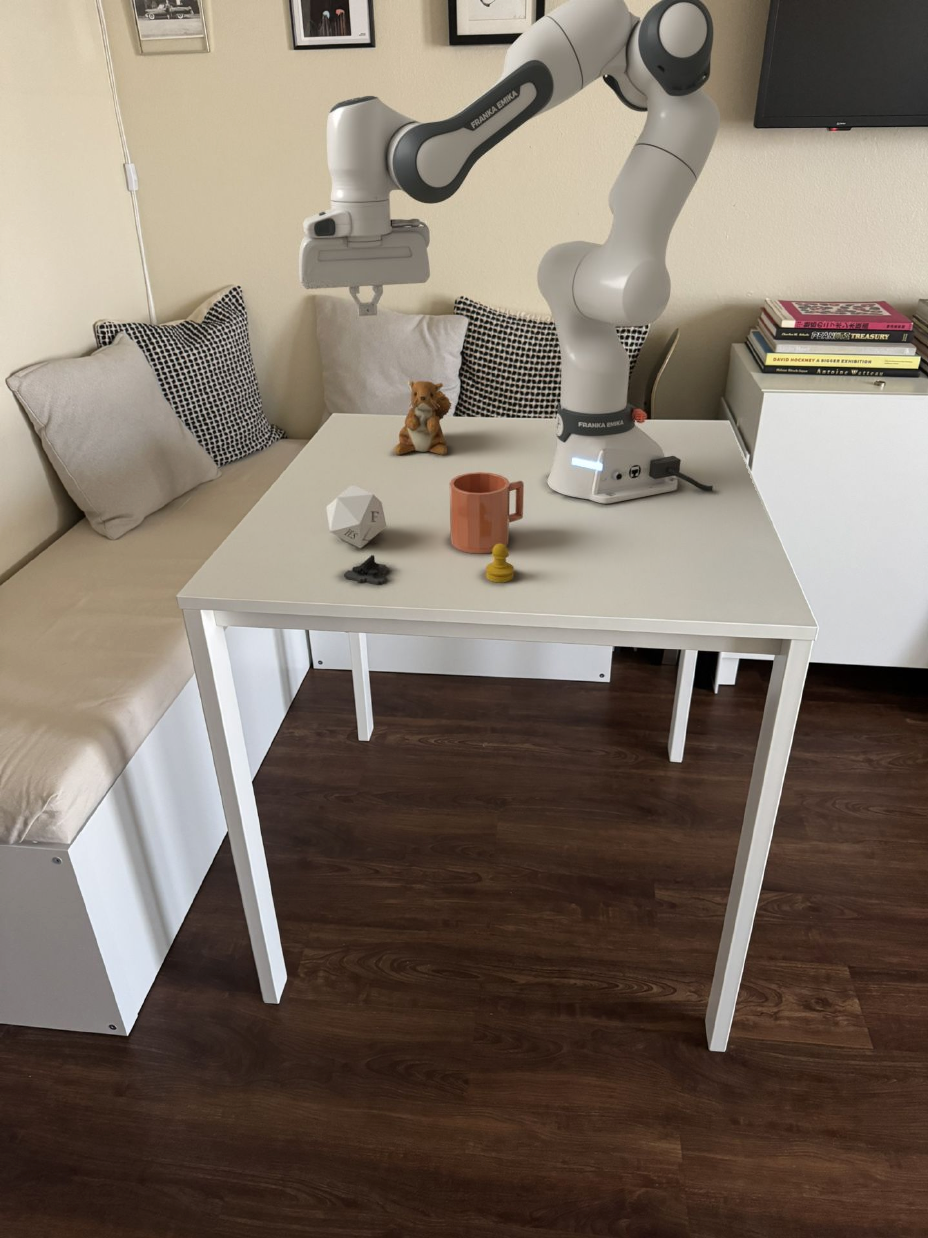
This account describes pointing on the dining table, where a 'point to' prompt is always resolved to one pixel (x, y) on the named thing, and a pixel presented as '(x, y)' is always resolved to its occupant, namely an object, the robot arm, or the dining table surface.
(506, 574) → the chess piece
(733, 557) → the dining table surface
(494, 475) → the mug
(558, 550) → the dining table surface
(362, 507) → the die
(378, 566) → the block figure
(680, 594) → the dining table surface
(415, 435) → the stuffed squirrel
